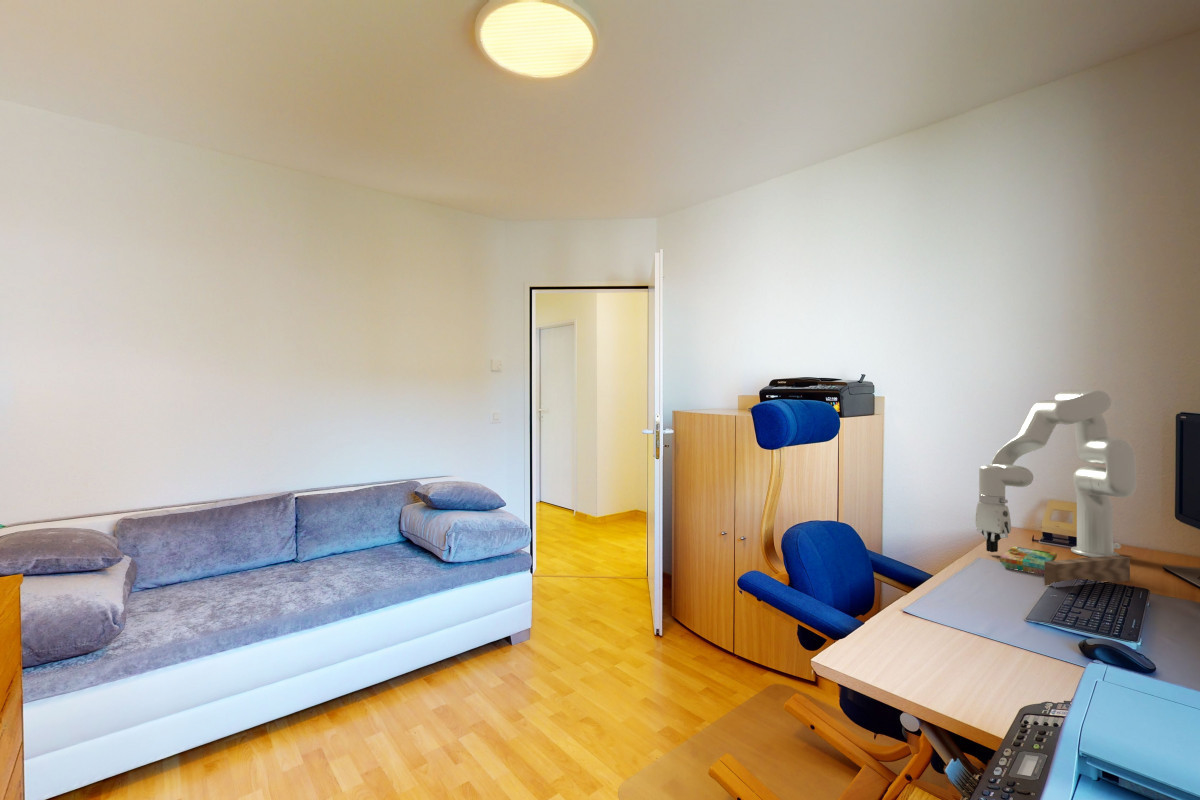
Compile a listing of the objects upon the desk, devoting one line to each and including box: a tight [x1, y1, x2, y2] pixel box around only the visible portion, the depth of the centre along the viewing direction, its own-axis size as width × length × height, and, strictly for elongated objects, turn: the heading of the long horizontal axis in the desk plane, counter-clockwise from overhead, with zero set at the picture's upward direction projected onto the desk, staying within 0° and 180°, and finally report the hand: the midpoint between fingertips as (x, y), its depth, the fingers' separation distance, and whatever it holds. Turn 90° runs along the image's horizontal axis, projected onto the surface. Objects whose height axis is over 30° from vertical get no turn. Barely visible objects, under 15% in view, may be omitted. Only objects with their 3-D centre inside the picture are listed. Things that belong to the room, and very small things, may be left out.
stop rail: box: [1043, 554, 1131, 586], centre depth 159 cm, size 30×3×7 cm, turn 104°
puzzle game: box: [999, 546, 1058, 575], centre depth 175 cm, size 12×5×20 cm
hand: (992, 551), depth 188 cm, fingers closed
